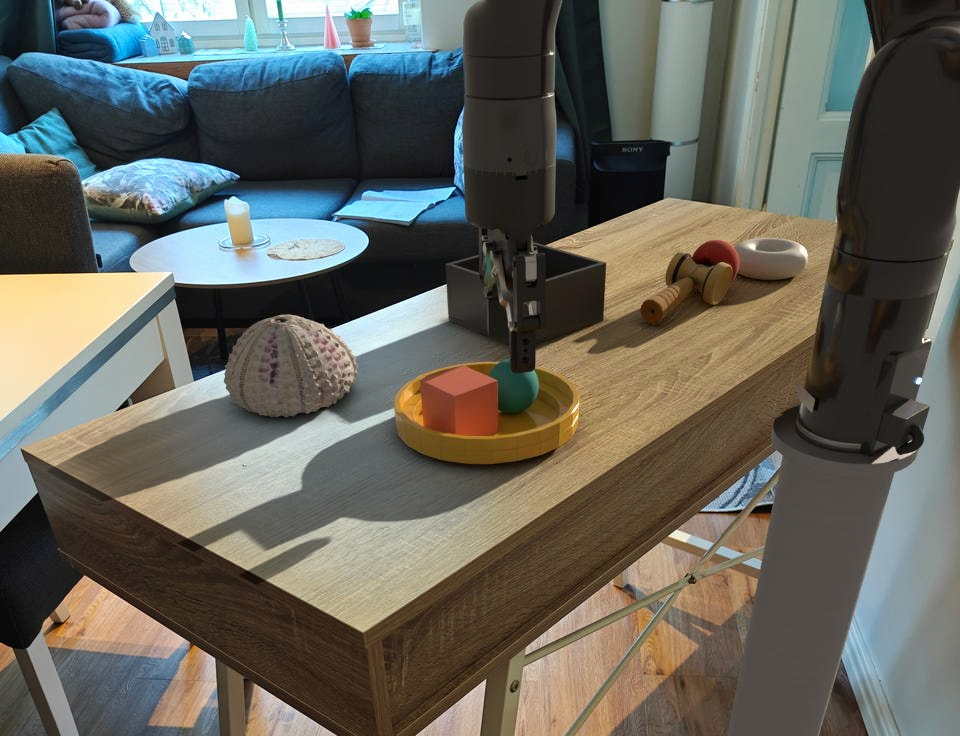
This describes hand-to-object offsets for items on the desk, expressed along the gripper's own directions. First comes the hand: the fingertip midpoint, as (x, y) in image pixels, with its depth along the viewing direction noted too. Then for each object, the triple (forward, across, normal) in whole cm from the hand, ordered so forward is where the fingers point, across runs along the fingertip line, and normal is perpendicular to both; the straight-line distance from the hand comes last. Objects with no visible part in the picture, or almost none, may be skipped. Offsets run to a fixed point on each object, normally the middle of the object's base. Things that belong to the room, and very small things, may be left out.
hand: (510, 353), depth 82 cm
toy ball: (+6, 0, 0) cm, 6 cm away
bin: (+6, -26, +8) cm, 28 cm away
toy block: (+6, +3, -6) cm, 8 cm away
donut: (+6, -33, +44) cm, 55 cm away
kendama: (+6, -25, +29) cm, 39 cm away
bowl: (+6, +1, -3) cm, 7 cm away
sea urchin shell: (+7, -11, -20) cm, 24 cm away
